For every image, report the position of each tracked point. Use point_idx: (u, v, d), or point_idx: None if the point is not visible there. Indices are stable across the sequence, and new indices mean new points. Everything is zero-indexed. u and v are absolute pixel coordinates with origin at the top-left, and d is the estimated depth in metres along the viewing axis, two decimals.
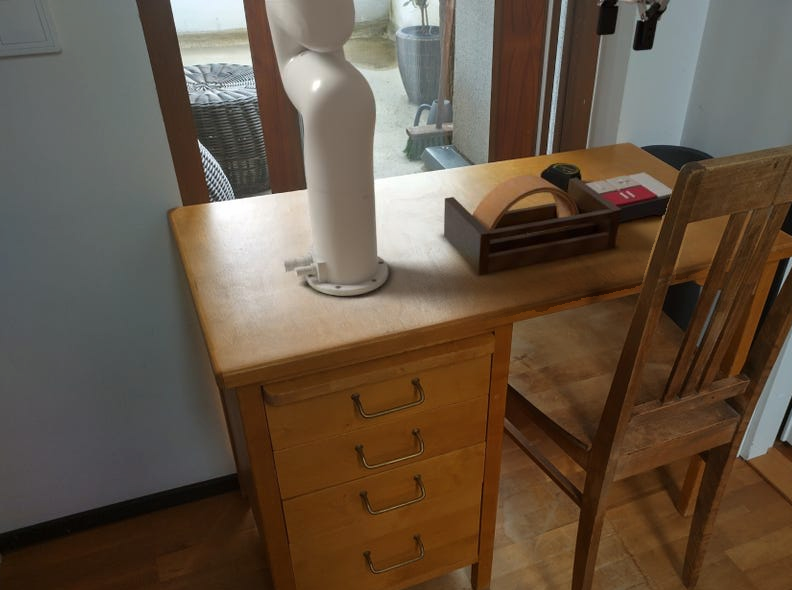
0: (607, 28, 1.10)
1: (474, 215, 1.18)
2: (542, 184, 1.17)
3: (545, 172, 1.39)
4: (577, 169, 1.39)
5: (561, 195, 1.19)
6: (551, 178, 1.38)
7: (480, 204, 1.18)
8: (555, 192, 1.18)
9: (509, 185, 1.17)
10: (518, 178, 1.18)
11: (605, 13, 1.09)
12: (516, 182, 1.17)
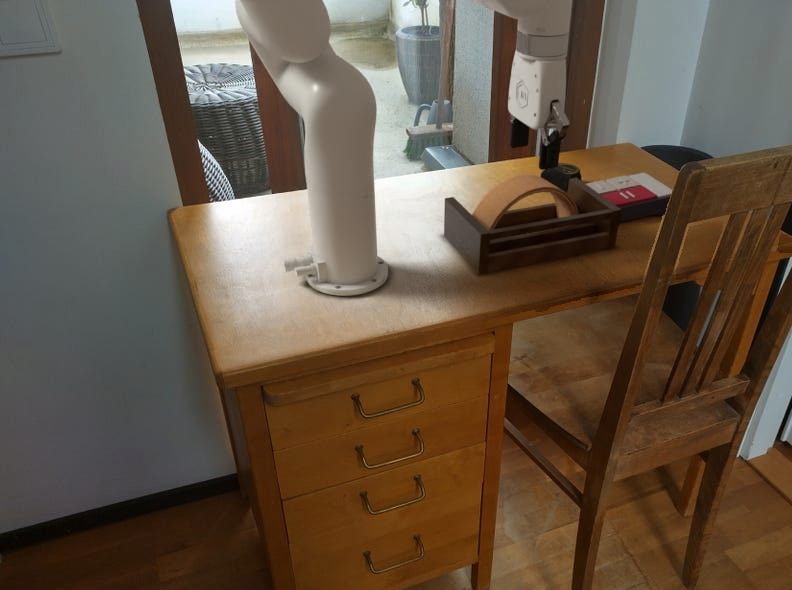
0: (520, 141, 1.17)
1: (474, 215, 1.18)
2: (542, 184, 1.17)
3: (545, 172, 1.39)
4: (577, 169, 1.39)
5: (561, 195, 1.19)
6: (551, 178, 1.38)
7: (480, 204, 1.18)
8: (555, 192, 1.18)
9: (509, 185, 1.17)
10: (518, 178, 1.18)
11: (517, 129, 1.16)
12: (516, 182, 1.17)
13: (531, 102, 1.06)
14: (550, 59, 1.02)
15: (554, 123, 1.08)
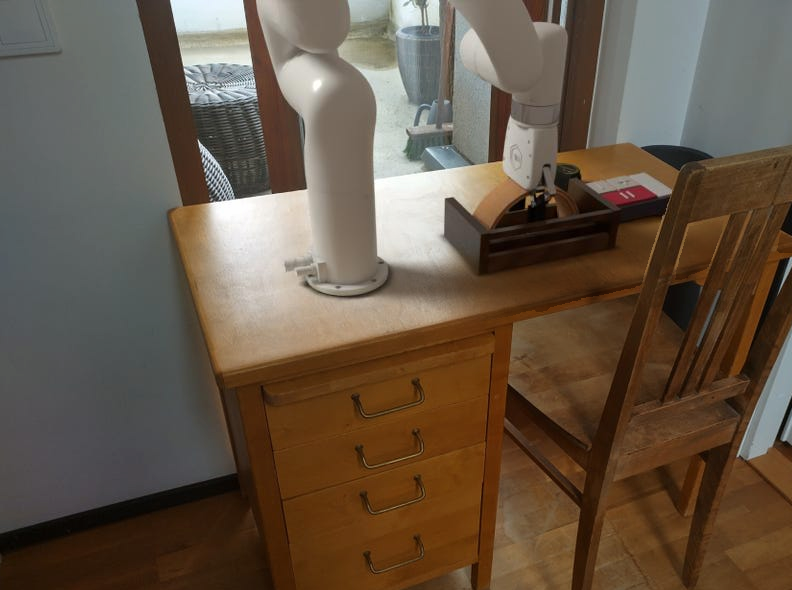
0: (517, 206, 1.23)
1: (474, 215, 1.18)
2: None
3: None
4: (577, 169, 1.39)
5: (561, 195, 1.19)
6: None
7: (480, 204, 1.18)
8: None
9: (509, 185, 1.17)
10: None
11: None
12: None
13: (524, 165, 1.12)
14: (543, 127, 1.08)
15: (543, 187, 1.14)
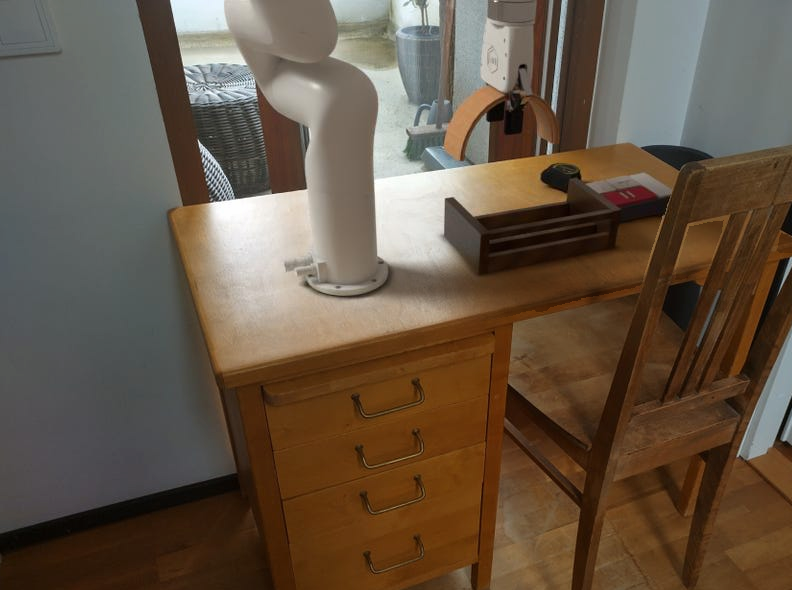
0: (496, 116, 1.22)
1: (452, 121, 1.18)
2: None
3: (545, 172, 1.39)
4: (577, 169, 1.39)
5: (539, 102, 1.19)
6: (551, 178, 1.38)
7: (458, 110, 1.18)
8: (533, 98, 1.18)
9: (487, 90, 1.17)
10: None
11: None
12: (494, 88, 1.17)
13: (500, 66, 1.11)
14: (518, 25, 1.08)
15: (520, 90, 1.14)
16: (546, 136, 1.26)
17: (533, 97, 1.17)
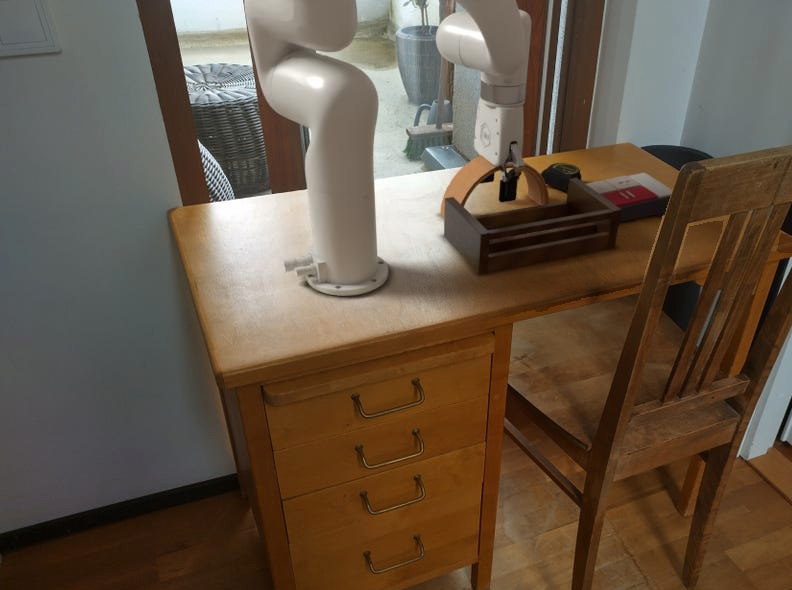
0: (486, 178, 1.31)
1: (448, 189, 1.26)
2: None
3: (545, 172, 1.39)
4: (577, 169, 1.39)
5: (530, 171, 1.27)
6: (551, 178, 1.38)
7: (453, 179, 1.26)
8: (524, 168, 1.26)
9: (480, 161, 1.25)
10: None
11: None
12: None
13: (493, 142, 1.20)
14: (509, 106, 1.16)
15: (513, 162, 1.22)
16: (536, 199, 1.34)
17: (524, 167, 1.26)
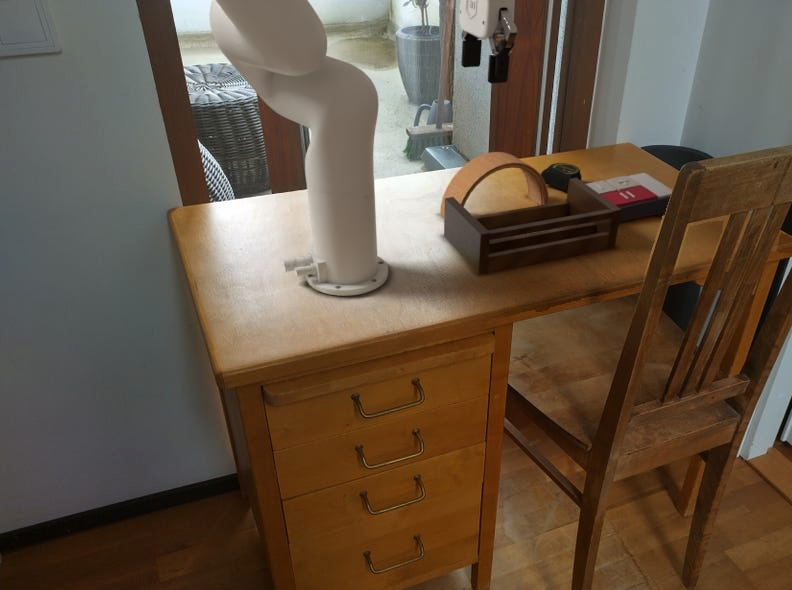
0: (472, 61, 1.16)
1: (448, 189, 1.26)
2: (511, 160, 1.25)
3: (545, 172, 1.39)
4: (577, 169, 1.39)
5: (529, 171, 1.27)
6: (551, 178, 1.38)
7: (453, 179, 1.26)
8: (523, 168, 1.26)
9: (480, 161, 1.25)
10: (489, 155, 1.26)
11: (468, 47, 1.14)
12: (487, 158, 1.25)
13: (480, 10, 1.04)
14: None
15: (503, 34, 1.06)
16: (536, 199, 1.34)
17: (523, 166, 1.26)
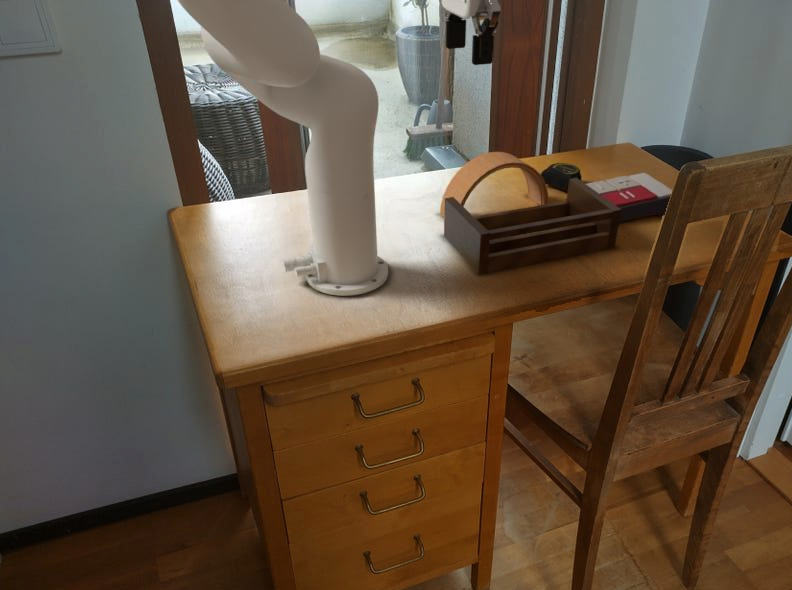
0: (456, 42, 1.12)
1: (448, 189, 1.26)
2: (511, 160, 1.25)
3: (545, 172, 1.39)
4: (577, 169, 1.39)
5: (529, 170, 1.27)
6: (551, 178, 1.38)
7: (453, 179, 1.26)
8: (523, 167, 1.26)
9: (480, 161, 1.25)
10: (489, 155, 1.26)
11: (452, 27, 1.10)
12: (487, 158, 1.25)
13: None
14: None
15: (487, 13, 1.02)
16: (536, 198, 1.34)
17: (523, 166, 1.26)
